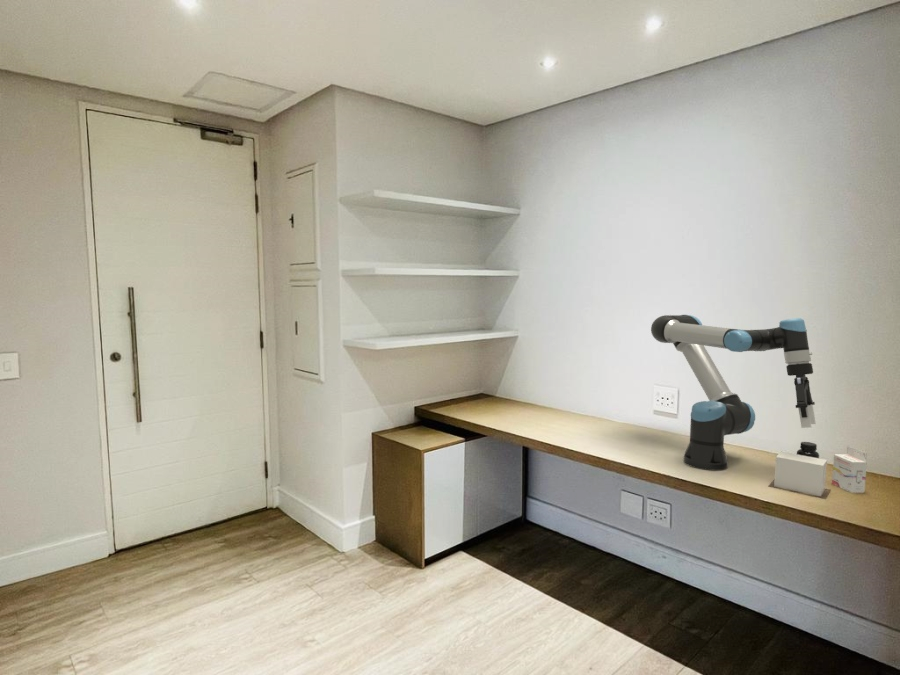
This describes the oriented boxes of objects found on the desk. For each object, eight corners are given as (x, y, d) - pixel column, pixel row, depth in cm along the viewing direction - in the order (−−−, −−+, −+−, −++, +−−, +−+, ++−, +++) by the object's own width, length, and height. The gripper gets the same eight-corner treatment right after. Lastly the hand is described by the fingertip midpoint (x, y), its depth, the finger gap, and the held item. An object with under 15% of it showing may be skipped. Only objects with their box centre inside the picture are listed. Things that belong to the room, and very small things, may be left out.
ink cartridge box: (830, 487, 186) (833, 445, 184) (844, 487, 186) (847, 444, 185) (850, 497, 177) (854, 452, 176) (865, 497, 178) (868, 452, 176)
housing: (774, 486, 182) (776, 456, 181) (779, 480, 188) (781, 451, 187) (820, 496, 174) (823, 465, 173) (824, 489, 179) (827, 459, 179)
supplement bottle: (790, 472, 200) (793, 440, 199) (810, 473, 200) (812, 440, 199) (802, 479, 194) (804, 446, 192) (822, 479, 193) (824, 446, 192)
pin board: (767, 490, 182) (768, 474, 182) (774, 482, 190) (775, 466, 190) (825, 503, 172) (826, 486, 171) (830, 494, 180) (831, 477, 179)
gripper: (807, 362, 177) (818, 428, 174) (815, 362, 197) (825, 422, 194) (780, 364, 182) (790, 429, 179) (790, 364, 201) (800, 423, 199)
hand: (808, 425), depth 187 cm, fingers open, 13 cm apart
